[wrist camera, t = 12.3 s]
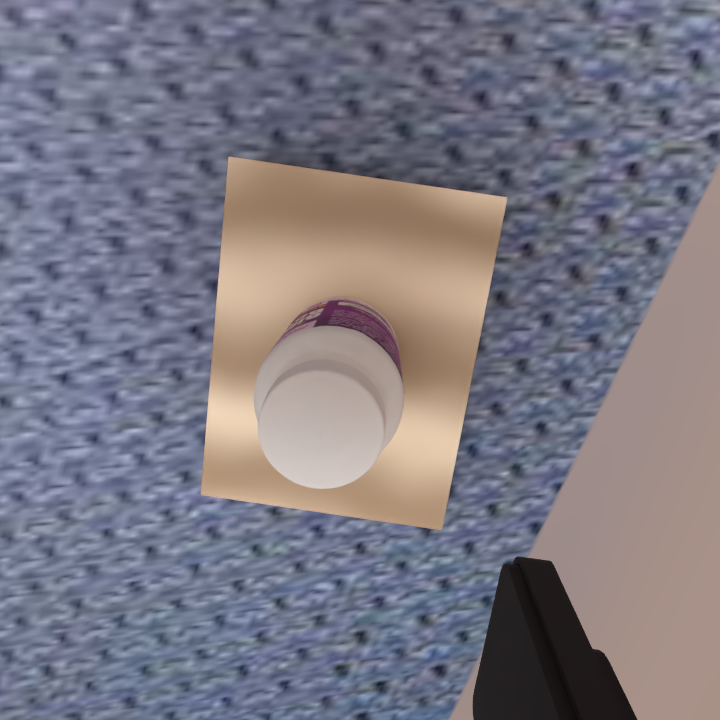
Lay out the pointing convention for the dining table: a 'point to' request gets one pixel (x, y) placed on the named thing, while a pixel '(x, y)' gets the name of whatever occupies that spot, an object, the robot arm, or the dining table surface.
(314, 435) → the pill bottle
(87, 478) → the dining table surface
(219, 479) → the birch plinth
